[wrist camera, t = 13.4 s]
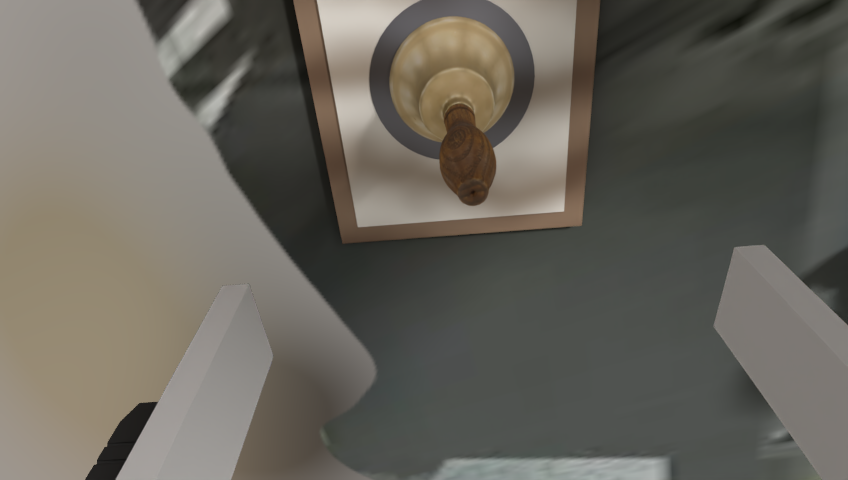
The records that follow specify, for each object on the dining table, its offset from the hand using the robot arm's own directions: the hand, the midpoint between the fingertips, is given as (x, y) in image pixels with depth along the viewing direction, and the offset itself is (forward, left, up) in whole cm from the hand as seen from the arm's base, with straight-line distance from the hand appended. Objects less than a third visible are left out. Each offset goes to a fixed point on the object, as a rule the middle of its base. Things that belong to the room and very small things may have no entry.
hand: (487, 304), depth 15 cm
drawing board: (0, 0, -25) cm, 25 cm away
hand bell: (0, 0, -24) cm, 24 cm away
